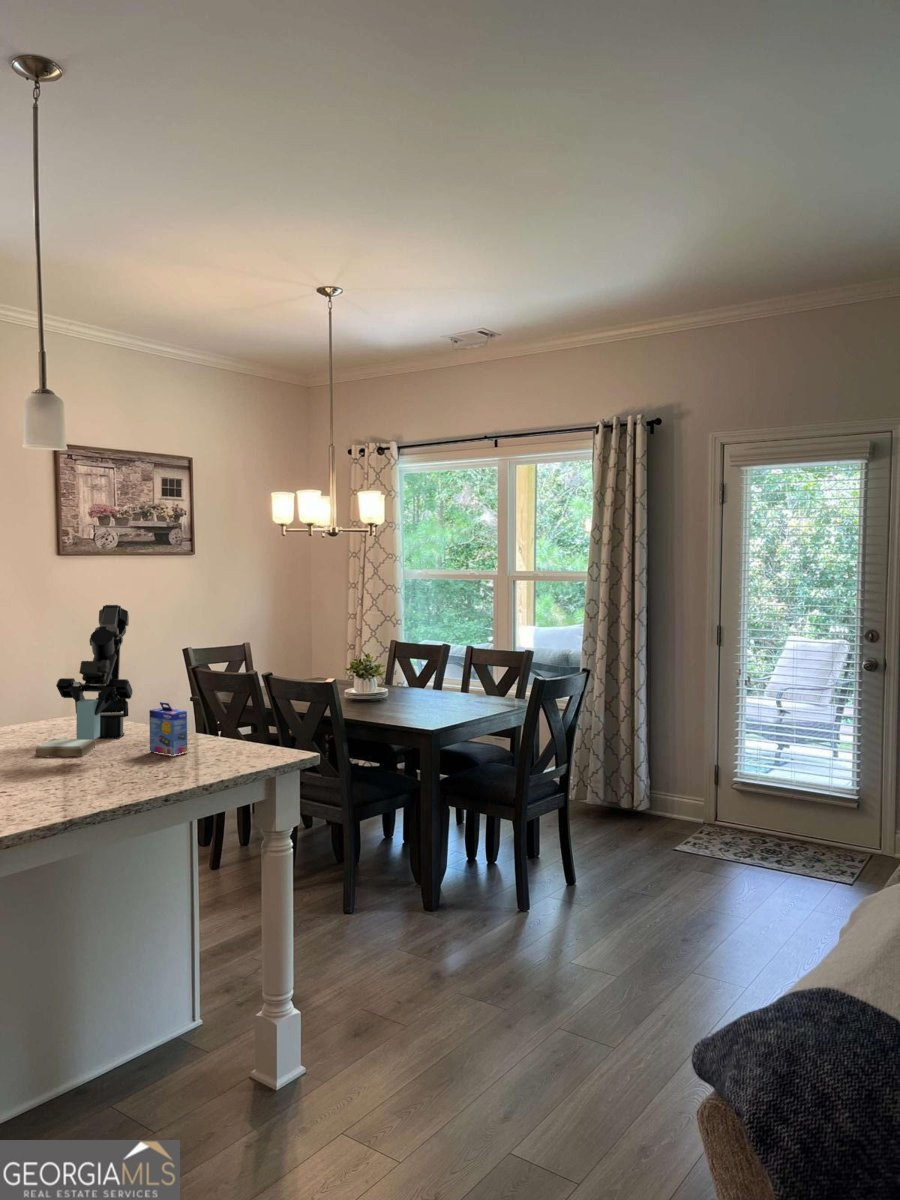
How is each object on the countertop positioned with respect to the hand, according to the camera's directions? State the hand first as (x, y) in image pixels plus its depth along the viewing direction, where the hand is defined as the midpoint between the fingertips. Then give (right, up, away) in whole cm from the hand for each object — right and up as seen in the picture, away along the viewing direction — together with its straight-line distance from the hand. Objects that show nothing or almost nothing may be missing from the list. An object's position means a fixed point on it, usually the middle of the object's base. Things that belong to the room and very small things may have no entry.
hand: (86, 714), depth 230 cm
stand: (-11, -12, +12) cm, 20 cm away
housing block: (0, -7, +2) cm, 7 cm away
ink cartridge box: (+17, -13, +13) cm, 25 cm away
